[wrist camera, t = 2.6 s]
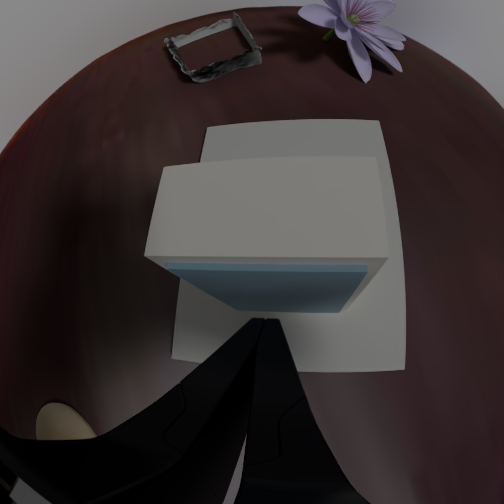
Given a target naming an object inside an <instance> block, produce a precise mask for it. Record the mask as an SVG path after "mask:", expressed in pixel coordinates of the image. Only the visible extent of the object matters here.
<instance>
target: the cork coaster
mask: <svg viewBox="0 0 504 504" xmlns="http://www.w3.org/2000/svg"><path fill="white" fill-rule="evenodd" d="M36 436H37V440H72V439H89V438H94V437H97V436H96V434H95V433H94V431H93V430H92V428H91V427H90V425H89V424H88V423H87V422H86V420H85V419H84V418H83V417H82V416H81V415H80V414H79V413H78V412H77V411H75V410H74V409H73V408H71V407H69V406H68V405H65V404H62V403H49V404H47V405H45V406H44V407H43V408H42V409H41V410H40V412H39V414H38V417H37V421H36Z"/></svg>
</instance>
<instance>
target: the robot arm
mask: <svg viewBox="0 0 504 504" xmlns="http://www.w3.org/2000/svg"><path fill="white" fill-rule="evenodd" d="M246 434H247V437H246ZM245 437H246V446H245V454H244V462H243V471H242V477H241V482H240V487H239V490H238V493H237V496H236V498H235V501H234V504H370V503H369V502H368V501H367V500H366V499H365V498H363V497H362V496H361V495H360V494H359V493H358V492H357V491H356V490H355V489H354V488H353V486H352V485H351V484H350V482H349V481H348V479H347V478H346V476H345V475H344V473H343V471H342V470H341V468H340V466H339V464H338V462H337V461H336V459H335V457H334V455H333V454H332V452H331V450H330V448H329V446H328V445H327V443H326V441H325V439H324V437H323V435H322V433H321V431H320V429H319V427H318V425H317V423H316V421H315V418H314V416H313V413H312V411H311V408H310V405H309V402H308V399H307V398H306V394H305V391H304V388H303V385H302V382H301V379H300V377H299V374H298V371H297V368H296V365H295V362H294V359H293V356H292V353H291V351H290V348H289V345H288V342H287V339H286V336H285V333H284V330H283V327H282V325H281V322H280V320H279V319H278V318H267V319H266V320H265V318H255V317H254V318H251V319H250V320H249V321H248V322H247V323H245V324H244V325H243V326H242V327H241V328H240V329H239V330H238V331H237V332H236V333H235V334H234V335H232V336H231V337H230V338H229V339H228V340H227V341H226V342H225V343H224V344H223V345H221V346H220V347H219V348H218V349H217V350H216V351H215V352H214V353H212V354H211V355H210V356H209V357H208V358H207V359H206V360H205V361H203V362H202V363H201V364H200V365H199V366H198V367H197V368H195V369H194V370H193V371H192V372H191V373H190V374H189V375H187V376H186V377H185V378H184V379H183V380H182V381H180V384H179V383H178V384H177V385H176V386H174V387H173V388H172V389H171V390H170V391H168V392H167V393H166V394H165V395H163V396H162V397H161V398H160V399H158V400H157V401H156V402H154V403H153V404H151V405H150V406H148V407H147V408H146V409H144V410H143V411H141V412H140V413H138V414H136V415H135V416H133V417H132V418H130V419H129V420H127V421H125V422H124V423H122V424H120V425H119V426H117V427H116V428H114V429H112V430H111V431H109V432H107V433H105V434H103V435H100V436H97V437H94V438H89V439H72V440H30V439H22V438H17V437H15V436H12V435H10V434H9V433H8V432H7V431H5V430H4V429H3V428H2V427H1V426H0V504H223V502H224V499H225V496H226V494H227V491H228V488H229V485H230V482H231V479H232V476H233V474H234V471H235V468H236V465H237V462H238V459H239V456H240V453H241V450H242V447H243V444H244V440H245Z"/></svg>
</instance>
